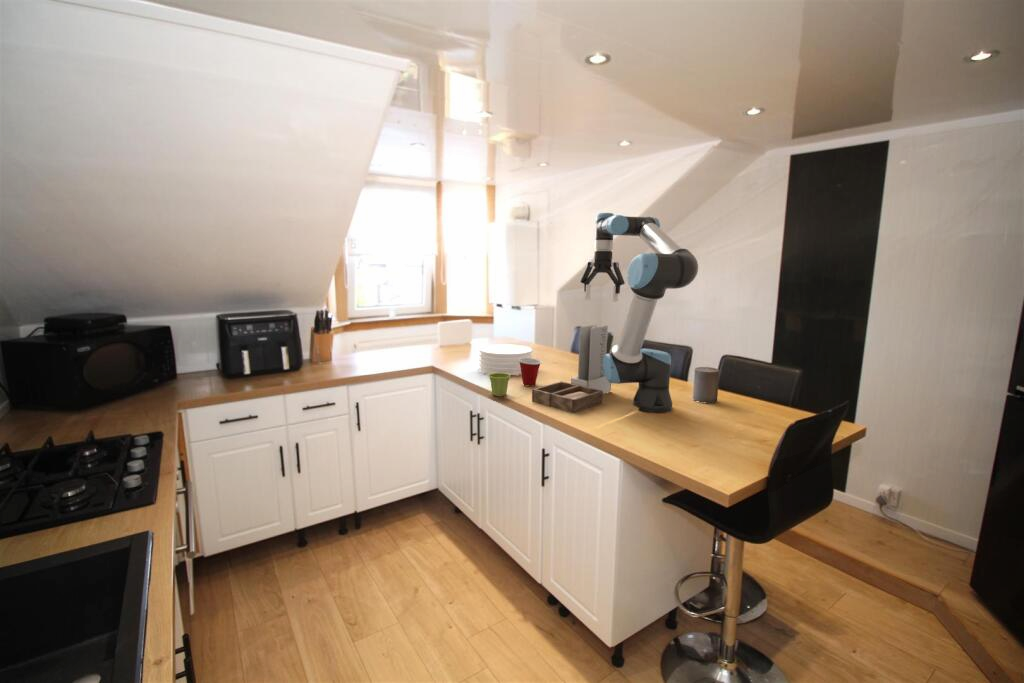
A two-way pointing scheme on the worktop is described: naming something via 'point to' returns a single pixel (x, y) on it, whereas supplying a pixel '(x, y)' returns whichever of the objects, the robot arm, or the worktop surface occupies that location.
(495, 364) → the plate stack
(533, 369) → the plastic cup
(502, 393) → the plant pot
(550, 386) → the tray
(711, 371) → the pillar candle
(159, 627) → the worktop surface
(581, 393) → the offcut top
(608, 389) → the holder
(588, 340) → the brochure
